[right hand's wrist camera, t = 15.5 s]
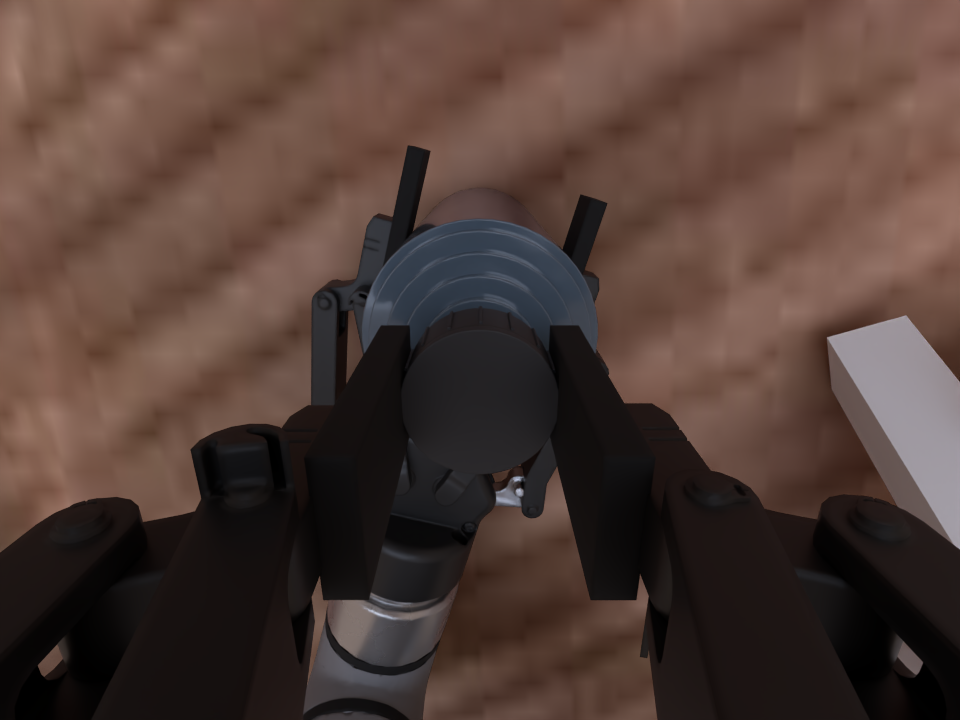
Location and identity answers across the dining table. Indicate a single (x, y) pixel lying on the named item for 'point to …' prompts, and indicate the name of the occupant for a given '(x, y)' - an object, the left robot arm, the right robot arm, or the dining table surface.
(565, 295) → the bottle
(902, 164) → the dining table surface
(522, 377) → the cap
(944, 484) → the pile of blocks
